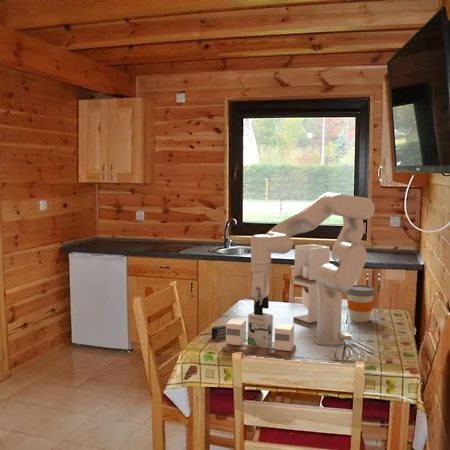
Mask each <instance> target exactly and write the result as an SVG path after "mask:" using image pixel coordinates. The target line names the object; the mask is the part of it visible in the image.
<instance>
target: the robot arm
mask: <svg viewBox="0 0 450 450" xmlns="http://www.w3.org/2000/svg"><path fill="white" fill-rule="evenodd" d="M375 211H376V206H375V203H374V201H372V200H371V199H370V198H368V197H361V196H357V195H356V196H355V195H350V194H344V193H337V192H336V193H335V192H325V193H323V194H322V195H320V196H319V197H318V198H316V199H314V201H312V202H311V203H310V204H309V205H307V206H306V207H305V208H304V209H303V210H301V211H300V212H298V213H297V214H294V215H292V216H290V217H288V218H286V219H283V220H281V222H279V223H277V224H276V225H275V226H274V227H272V228H271V229H270V230H269V231H267V232H266V233H265V234H254V235H251V238H250V272H251V273H252V278H251V298H252V299H254V300H253V312H254V315H263V313H264V311H263V309H269V308H270V307H269V305H270V304H269V303H270V302H269V300H270V299H269V294H270V273H271V272H272V254H278V255H285V254H288V253H289V252H291V250H292V249H293V246H294V242H293V239H292V237H294V236H296V235H298V234H303V233H308V232H311V231H313V230H315V229H316V228H317V227H318V226H320V225H321V224H322V223H324V222H325V221H326V220H328V218H330V217H331V216H339V217H342V219H343V223H342V224H343V225H342V226H343V227H342V228H341V230H340V233H339V235H338V237H337V239H336V240H335V242H334V244H333V246H332V248H331V250H330V258H331V259H332V260H333V262H336V263H338V264H339V265H336V264H333V263H330V264H324V265H322V266H320V267H319V269H318V270H317V273H316V282H317V289H318V309H317V326H316V334H315V335H314V336H312V341H313V342H314V343H315V344H317V345H321V346H326V347H336V346H342V345H343V344H345V340H348V341H352V340H353V335H352V334H350V333H344V332H343V329H342V309H343V308H342V307H343V306H342V305H343V299H342V298H343V296H342V293H347V291H349V290H350V289H351V288H352V287H353V286H354V285H356V282H357V280H358V278H359V276H360V274H361V272H362V271H363V268H364V266H365V265H366V261H367V254H368V253H367V250H366V248H365V247H364V246H363V245H362V244H360V242H361V240H362V238H363V236H364V231H365V225H364V221H363V220H368V219H370V218H371V217H373V215H374V213H375Z"/></svg>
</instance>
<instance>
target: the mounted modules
mask: <svg viewBox="0 0 450 450" xmlns="http://www.w3.org/2000/svg"><path fill="white" fill-rule="evenodd" d="M225 325H226V338H225V344H233V345H242V344H243V342H244V341H245V340H246V338H247V320H246V319H237V318H231V319H229V320H228V321H227V322H226V323H225ZM294 334H295V325H294V324H290V323H280V322H278V324H276V325H275V327H274V339H273V340H274V349H277V350H286V351H290V350H291V349H292V347H293V345H295V344H294V343H295V341H294V339H295V337H294V336H295V335H294Z"/></svg>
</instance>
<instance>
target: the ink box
mask: <svg viewBox="0 0 450 450" xmlns="http://www.w3.org/2000/svg"><path fill="white" fill-rule="evenodd" d="M247 316H248V317H247V339H248V344H252V345H256V346H260V347H265V348H267V347H269V346H270V345H272V342H273V329H274V328H273V326H274V325H273V323H274V315H272V314H270V313H265V312H263V315H254V311H252V312H251V313H248V315H247Z"/></svg>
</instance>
